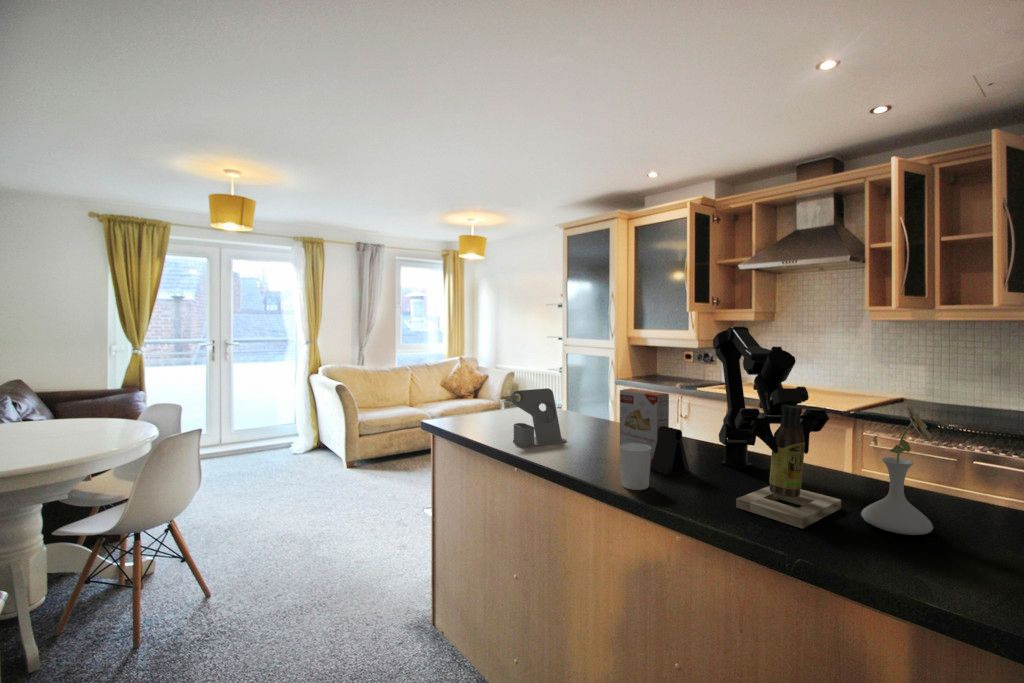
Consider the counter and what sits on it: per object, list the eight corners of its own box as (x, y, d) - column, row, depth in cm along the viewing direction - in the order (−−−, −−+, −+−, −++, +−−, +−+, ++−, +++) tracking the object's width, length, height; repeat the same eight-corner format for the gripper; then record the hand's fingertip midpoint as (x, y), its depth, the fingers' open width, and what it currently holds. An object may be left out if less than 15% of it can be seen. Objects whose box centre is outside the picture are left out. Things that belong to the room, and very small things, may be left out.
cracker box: (618, 456, 151) (618, 389, 150) (631, 453, 155) (631, 387, 154) (656, 467, 140) (656, 394, 139) (669, 463, 144) (669, 392, 143)
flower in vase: (911, 545, 91) (915, 411, 90) (848, 522, 101) (850, 402, 100) (950, 533, 96) (954, 406, 95) (886, 512, 106) (889, 398, 105)
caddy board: (776, 491, 120) (776, 482, 120) (840, 508, 109) (841, 499, 109) (736, 507, 110) (736, 498, 110) (802, 528, 98) (802, 518, 98)
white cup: (645, 493, 119) (645, 452, 119) (614, 487, 123) (614, 448, 123) (654, 484, 126) (655, 445, 125) (625, 479, 130) (625, 441, 130)
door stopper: (666, 475, 133) (667, 431, 132) (650, 470, 138) (650, 427, 137) (689, 470, 137) (689, 428, 137) (672, 465, 142) (672, 424, 142)
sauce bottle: (790, 501, 105) (796, 409, 104) (762, 491, 111) (768, 404, 110) (807, 496, 108) (813, 407, 107) (779, 487, 114) (785, 402, 113)
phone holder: (523, 448, 162) (523, 394, 161) (510, 441, 171) (510, 390, 170) (568, 442, 170) (568, 390, 169) (552, 436, 179) (552, 387, 178)
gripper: (740, 373, 113) (757, 432, 103) (826, 374, 111) (853, 434, 101) (728, 401, 121) (743, 458, 111) (808, 402, 119) (831, 460, 109)
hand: (791, 452), depth 108 cm, fingers closed on sauce bottle, 6 cm apart
